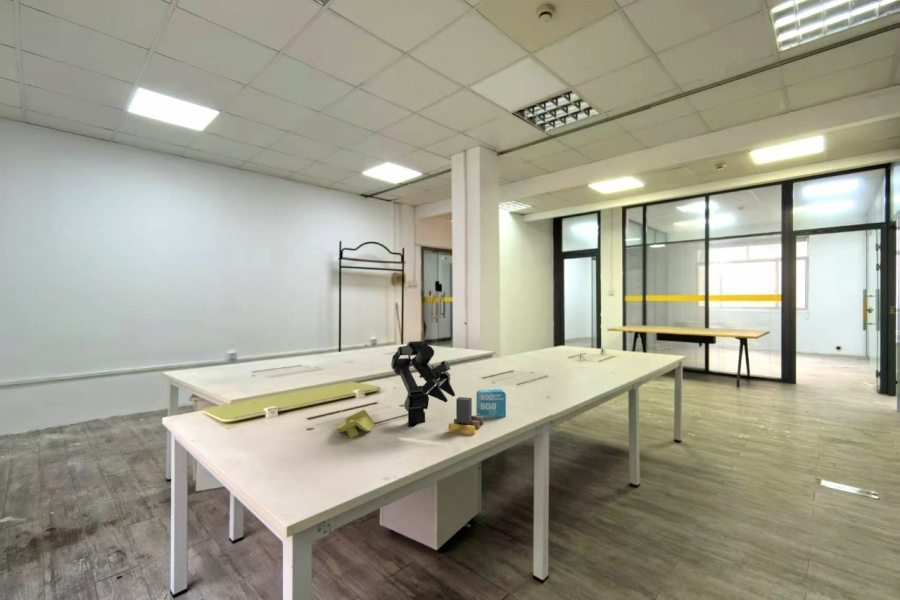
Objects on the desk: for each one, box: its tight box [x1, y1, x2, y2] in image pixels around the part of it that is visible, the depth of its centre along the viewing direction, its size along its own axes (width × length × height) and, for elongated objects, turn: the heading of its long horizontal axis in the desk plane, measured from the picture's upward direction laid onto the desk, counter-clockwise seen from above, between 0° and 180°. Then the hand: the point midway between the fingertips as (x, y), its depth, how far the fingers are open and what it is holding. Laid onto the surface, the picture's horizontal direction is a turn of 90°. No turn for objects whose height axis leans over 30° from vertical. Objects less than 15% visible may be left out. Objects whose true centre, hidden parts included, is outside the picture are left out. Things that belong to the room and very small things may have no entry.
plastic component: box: [335, 409, 375, 439], centre depth 145 cm, size 20×7×10 cm
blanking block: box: [455, 396, 473, 426], centre depth 144 cm, size 5×4×12 cm
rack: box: [448, 415, 484, 436], centre depth 147 cm, size 10×13×4 cm
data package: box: [475, 388, 507, 419], centre depth 163 cm, size 12×4×12 cm, turn 98°
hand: (450, 398), depth 147 cm, fingers open, 9 cm apart
